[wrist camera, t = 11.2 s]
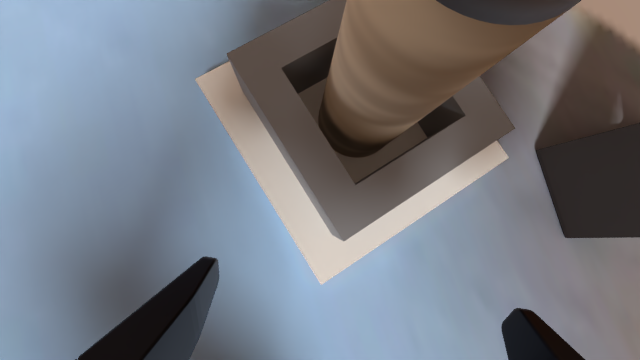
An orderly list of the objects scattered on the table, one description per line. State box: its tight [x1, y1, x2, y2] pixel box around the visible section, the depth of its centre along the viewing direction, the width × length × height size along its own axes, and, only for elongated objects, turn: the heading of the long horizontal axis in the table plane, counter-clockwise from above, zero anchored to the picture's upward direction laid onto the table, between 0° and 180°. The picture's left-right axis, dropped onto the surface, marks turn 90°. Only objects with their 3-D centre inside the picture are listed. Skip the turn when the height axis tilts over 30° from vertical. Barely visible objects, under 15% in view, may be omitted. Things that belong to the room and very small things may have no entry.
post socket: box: [195, 0, 515, 285], centre depth 16 cm, size 14×14×5 cm
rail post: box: [318, 0, 581, 158], centre depth 11 cm, size 5×5×13 cm
